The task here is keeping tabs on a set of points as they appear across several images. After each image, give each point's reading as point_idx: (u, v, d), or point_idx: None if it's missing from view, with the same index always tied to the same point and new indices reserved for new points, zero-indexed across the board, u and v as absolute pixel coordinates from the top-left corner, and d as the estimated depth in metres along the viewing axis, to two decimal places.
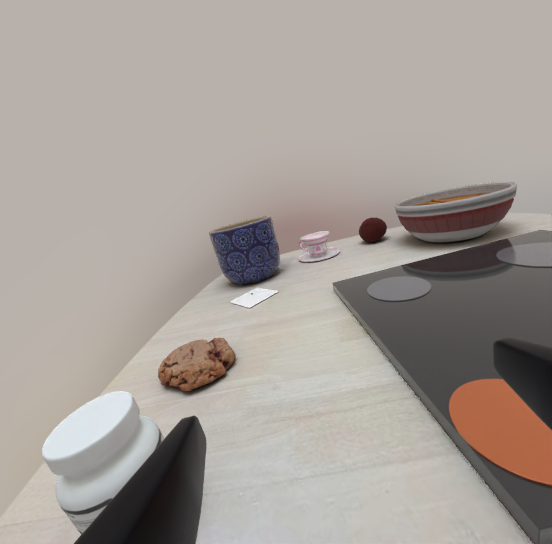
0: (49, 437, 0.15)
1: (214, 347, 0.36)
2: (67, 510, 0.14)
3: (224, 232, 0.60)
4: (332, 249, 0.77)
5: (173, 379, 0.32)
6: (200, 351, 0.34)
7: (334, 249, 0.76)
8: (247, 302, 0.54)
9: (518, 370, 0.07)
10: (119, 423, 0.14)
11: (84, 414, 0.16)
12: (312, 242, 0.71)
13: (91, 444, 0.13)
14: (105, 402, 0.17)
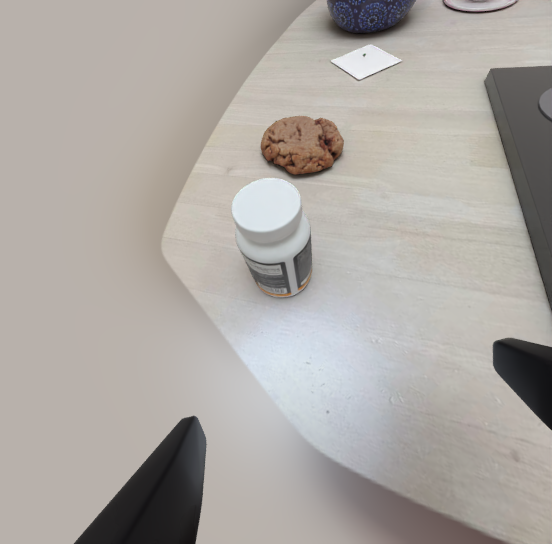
0: (233, 208, 0.17)
1: (322, 131, 0.32)
2: (252, 259, 0.19)
3: None
4: None
5: (279, 157, 0.31)
6: (309, 133, 0.31)
7: None
8: (356, 68, 0.41)
9: (518, 370, 0.07)
10: (296, 215, 0.16)
11: (256, 194, 0.17)
12: None
13: (279, 227, 0.16)
14: (271, 188, 0.17)
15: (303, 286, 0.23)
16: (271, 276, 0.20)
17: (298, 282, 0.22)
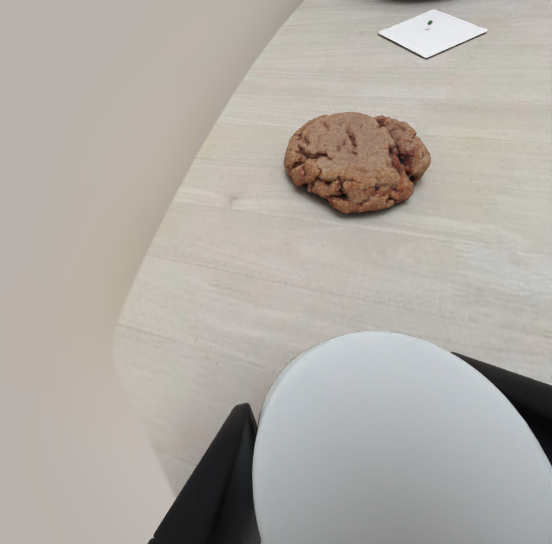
0: (262, 484, 0.04)
1: (391, 139, 0.19)
2: None
3: None
4: None
5: (319, 183, 0.18)
6: (372, 142, 0.18)
7: None
8: (418, 42, 0.28)
9: None
10: None
11: (347, 416, 0.05)
12: None
13: None
14: (404, 388, 0.05)
15: None
16: None
17: None
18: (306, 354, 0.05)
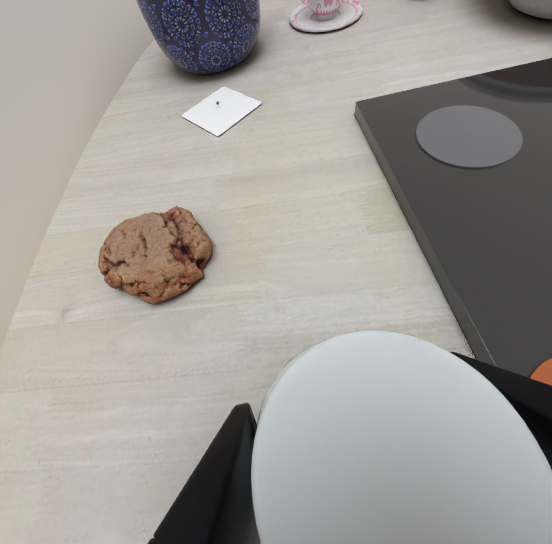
0: (261, 483, 0.04)
1: (178, 232, 0.23)
2: None
3: None
4: (349, 2, 0.44)
5: (126, 286, 0.22)
6: (157, 244, 0.22)
7: (353, 3, 0.43)
8: (212, 121, 0.34)
9: None
10: None
11: (345, 416, 0.05)
12: None
13: None
14: (403, 387, 0.05)
15: None
16: None
17: None
18: (305, 353, 0.05)
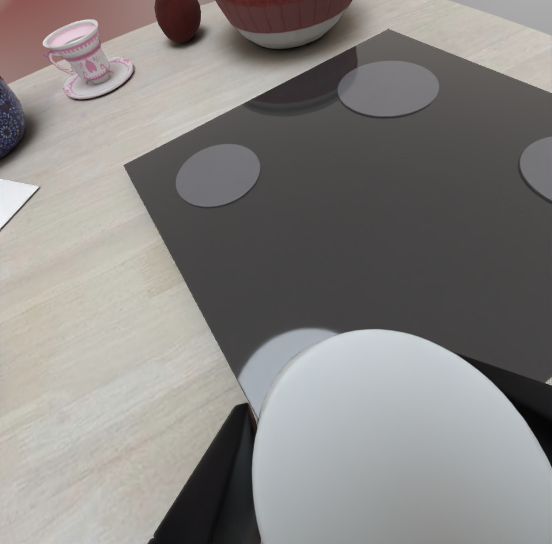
0: (262, 481, 0.04)
1: None
2: None
3: None
4: (121, 61, 0.45)
5: None
6: None
7: (124, 62, 0.45)
8: None
9: None
10: None
11: (346, 414, 0.05)
12: (71, 53, 0.38)
13: None
14: (404, 386, 0.05)
15: None
16: None
17: None
18: (306, 352, 0.05)
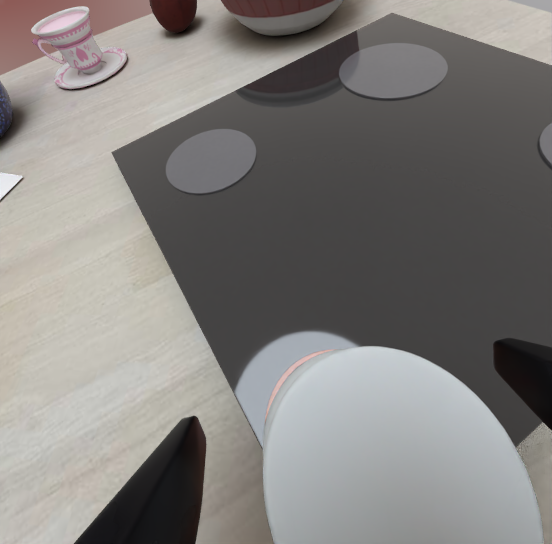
0: (272, 486, 0.05)
1: None
2: None
3: None
4: (114, 51, 0.43)
5: None
6: None
7: (118, 52, 0.43)
8: None
9: (518, 370, 0.07)
10: None
11: (346, 425, 0.05)
12: (61, 40, 0.36)
13: None
14: (398, 399, 0.05)
15: None
16: None
17: None
18: (310, 368, 0.06)
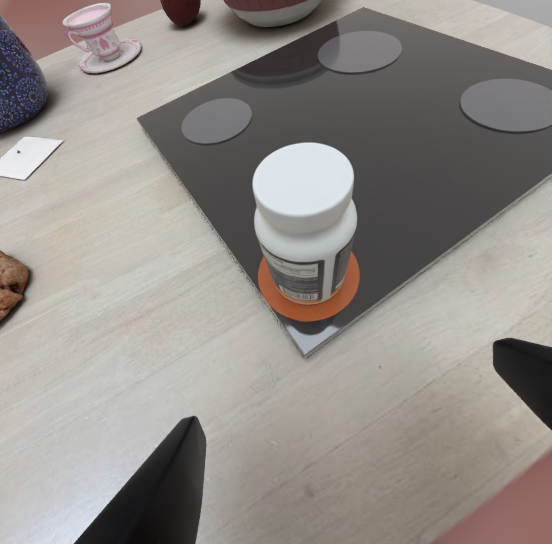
0: (256, 183, 0.12)
1: None
2: (278, 257, 0.14)
3: None
4: (130, 42, 0.51)
5: None
6: None
7: (133, 42, 0.50)
8: (17, 168, 0.36)
9: (518, 370, 0.07)
10: (349, 191, 0.11)
11: (286, 165, 0.12)
12: (88, 31, 0.43)
13: (326, 210, 0.11)
14: (308, 155, 0.12)
15: (336, 290, 0.19)
16: (302, 279, 0.15)
17: (333, 286, 0.17)
18: (273, 152, 0.13)
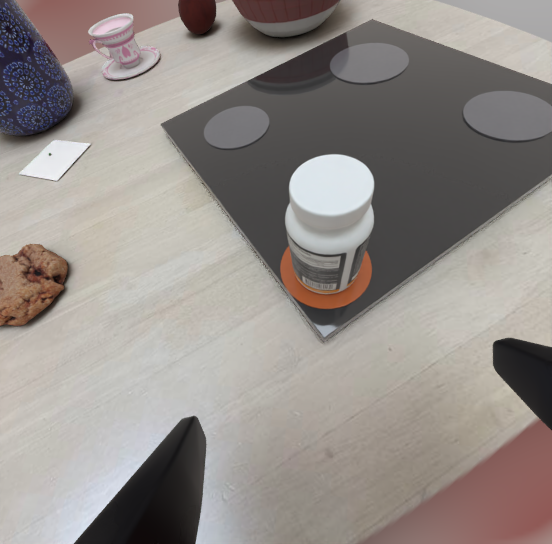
0: (292, 188, 0.14)
1: (29, 262, 0.27)
2: (307, 250, 0.16)
3: None
4: (149, 50, 0.53)
5: None
6: (9, 276, 0.26)
7: (152, 50, 0.53)
8: (49, 170, 0.38)
9: (518, 370, 0.07)
10: (370, 196, 0.14)
11: (317, 173, 0.15)
12: (112, 40, 0.46)
13: (352, 210, 0.13)
14: (335, 165, 0.15)
15: (352, 281, 0.21)
16: (325, 269, 0.18)
17: (350, 277, 0.20)
18: (305, 162, 0.15)
